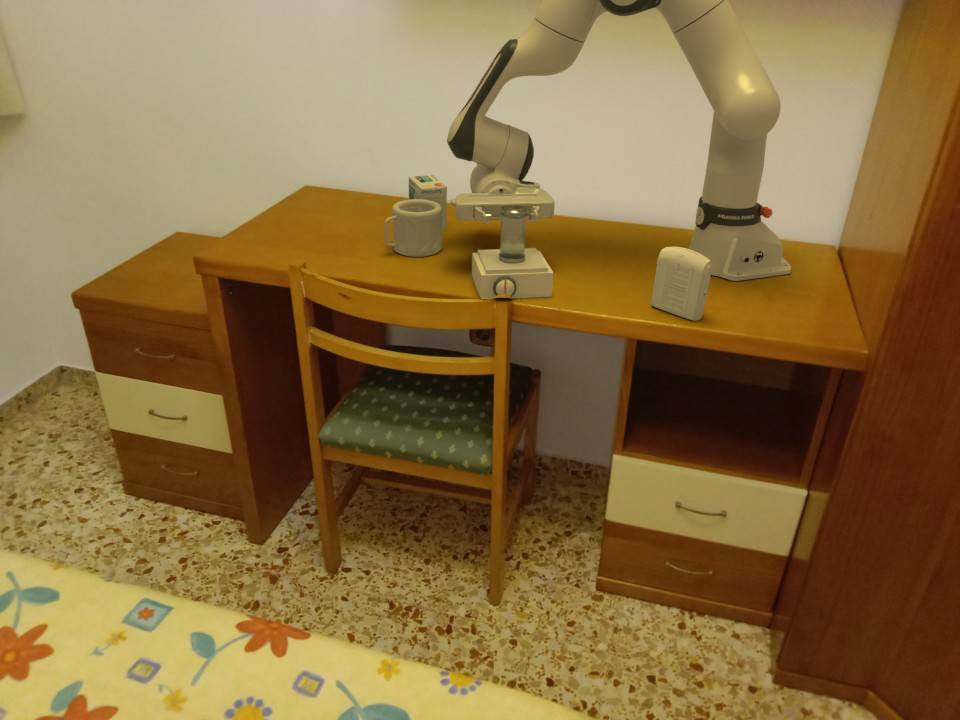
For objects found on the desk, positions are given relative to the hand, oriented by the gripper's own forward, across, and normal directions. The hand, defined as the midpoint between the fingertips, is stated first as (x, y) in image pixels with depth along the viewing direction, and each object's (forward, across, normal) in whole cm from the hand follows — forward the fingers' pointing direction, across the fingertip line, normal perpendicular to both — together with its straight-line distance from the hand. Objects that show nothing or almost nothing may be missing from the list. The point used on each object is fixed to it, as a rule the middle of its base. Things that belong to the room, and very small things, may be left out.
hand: (511, 218), depth 146 cm
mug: (-20, -18, +14) cm, 30 cm away
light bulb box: (-37, -13, +14) cm, 41 cm away
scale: (+2, 0, +13) cm, 13 cm away
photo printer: (+18, +29, +13) cm, 36 cm away
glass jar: (+2, 0, +7) cm, 8 cm away
